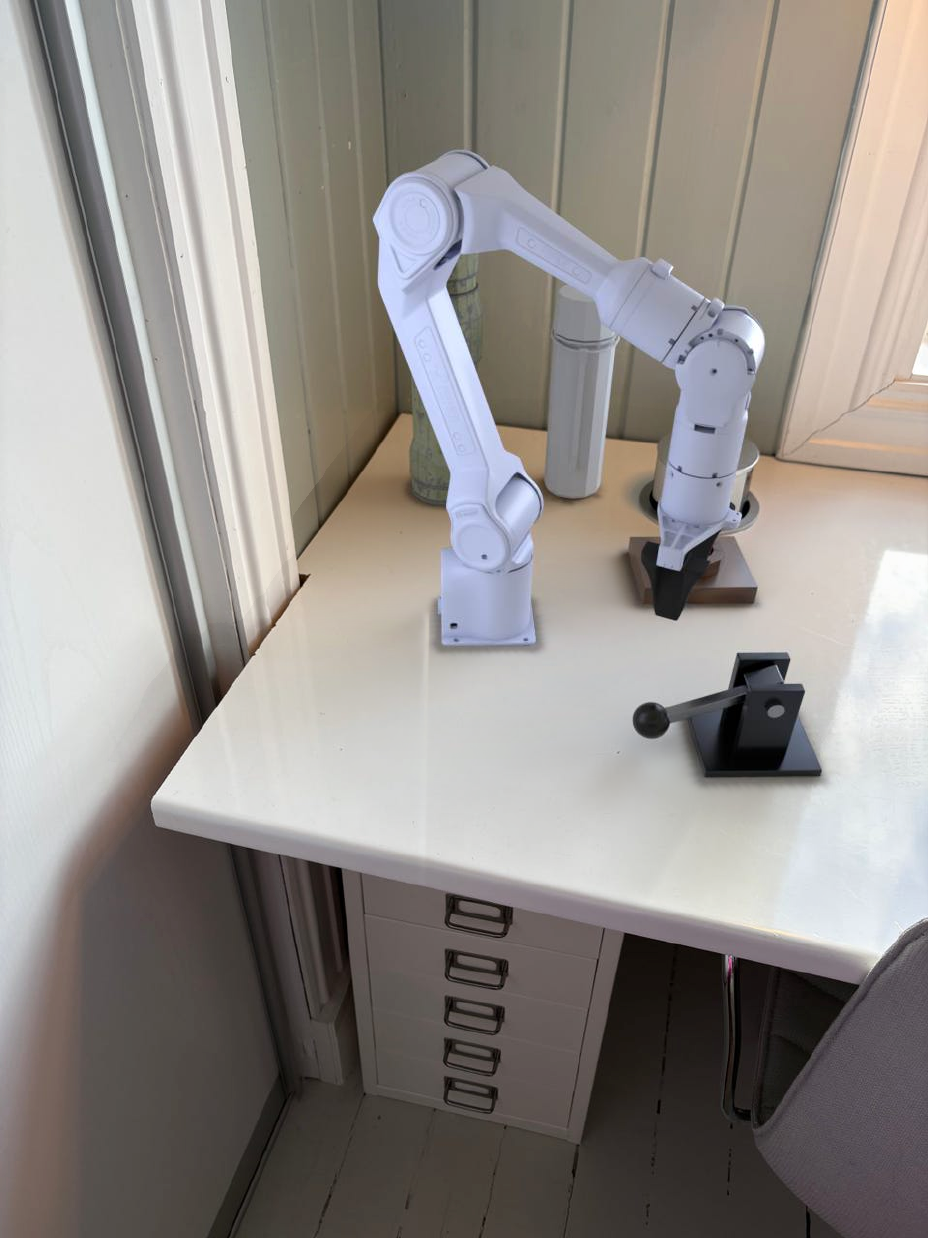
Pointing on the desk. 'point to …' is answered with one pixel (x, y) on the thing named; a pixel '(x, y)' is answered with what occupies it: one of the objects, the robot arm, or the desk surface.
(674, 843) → the desk surface
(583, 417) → the water bottle
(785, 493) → the desk surface
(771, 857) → the desk surface
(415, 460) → the thermos
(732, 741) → the bracket
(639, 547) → the control block
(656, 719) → the lever
